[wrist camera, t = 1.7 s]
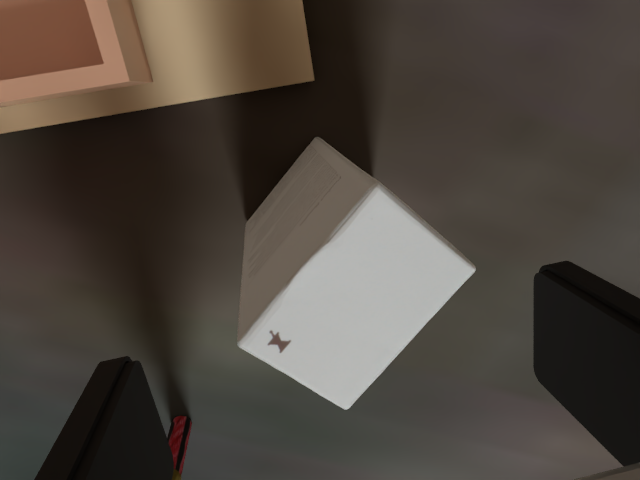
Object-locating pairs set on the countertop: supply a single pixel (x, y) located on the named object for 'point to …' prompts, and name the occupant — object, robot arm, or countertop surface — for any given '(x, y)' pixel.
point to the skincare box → (339, 276)
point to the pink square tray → (68, 49)
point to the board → (192, 59)
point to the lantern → (179, 442)
